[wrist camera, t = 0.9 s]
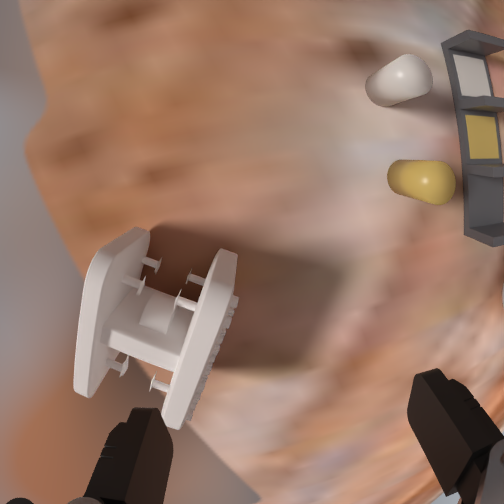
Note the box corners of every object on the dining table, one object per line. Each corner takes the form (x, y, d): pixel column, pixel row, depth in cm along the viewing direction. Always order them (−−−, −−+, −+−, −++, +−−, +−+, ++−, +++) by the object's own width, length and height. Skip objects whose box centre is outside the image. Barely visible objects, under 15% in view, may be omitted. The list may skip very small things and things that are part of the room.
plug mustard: (385, 160, 29) (419, 162, 22) (416, 158, 29) (454, 160, 22) (388, 196, 30) (422, 207, 23) (418, 193, 30) (456, 203, 23)
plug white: (362, 72, 26) (390, 52, 20) (394, 73, 26) (427, 55, 20) (368, 107, 27) (399, 94, 21) (400, 106, 27) (436, 96, 21)
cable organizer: (143, 212, 30) (88, 241, 19) (244, 250, 31) (242, 299, 20) (113, 336, 34) (70, 399, 23) (198, 369, 35) (182, 443, 24)
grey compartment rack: (440, 43, 25) (467, 29, 20) (478, 50, 25) (505, 40, 19) (463, 234, 31) (492, 247, 26) (498, 228, 31) (526, 239, 25)
